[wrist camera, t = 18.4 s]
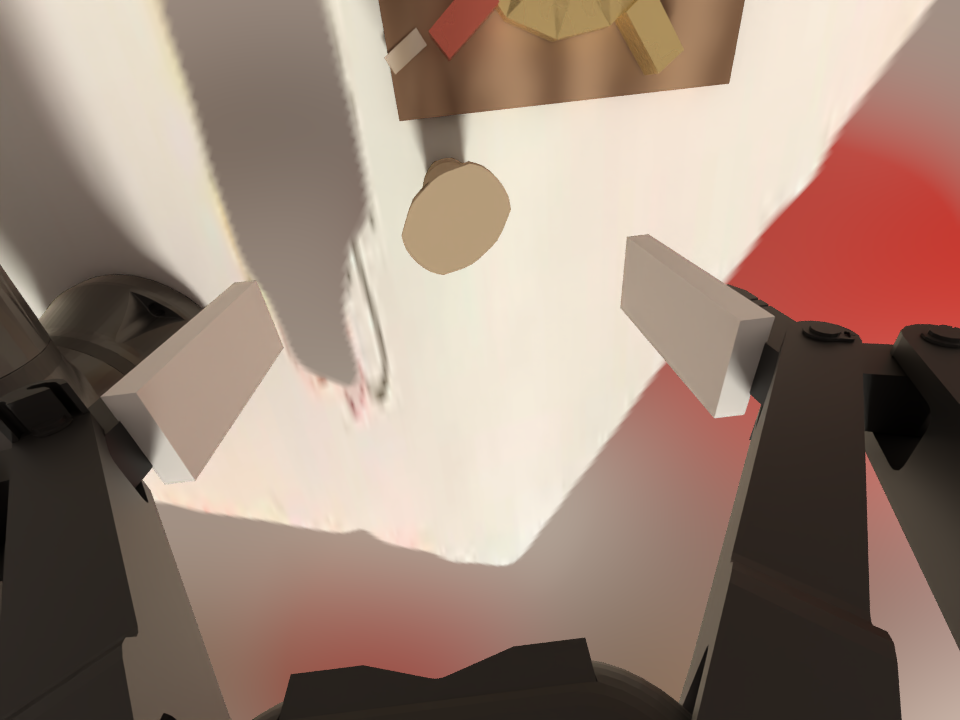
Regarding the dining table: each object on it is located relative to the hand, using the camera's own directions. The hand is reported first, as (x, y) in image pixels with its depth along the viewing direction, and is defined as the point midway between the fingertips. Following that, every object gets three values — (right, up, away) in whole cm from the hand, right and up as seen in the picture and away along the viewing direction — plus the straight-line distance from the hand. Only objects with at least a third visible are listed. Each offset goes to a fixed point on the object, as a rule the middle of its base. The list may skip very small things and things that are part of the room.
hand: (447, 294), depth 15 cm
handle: (-2, +13, +21) cm, 25 cm away
